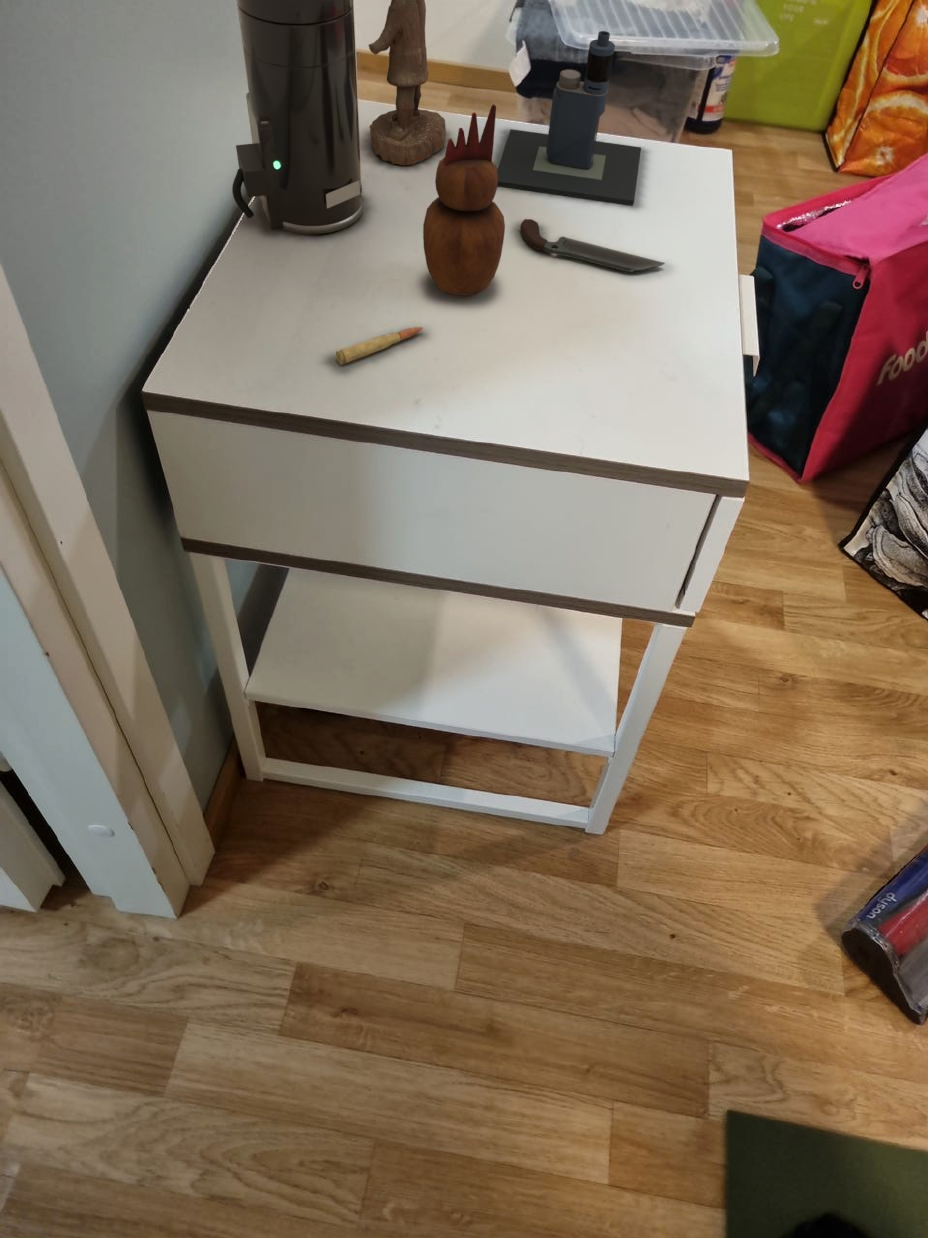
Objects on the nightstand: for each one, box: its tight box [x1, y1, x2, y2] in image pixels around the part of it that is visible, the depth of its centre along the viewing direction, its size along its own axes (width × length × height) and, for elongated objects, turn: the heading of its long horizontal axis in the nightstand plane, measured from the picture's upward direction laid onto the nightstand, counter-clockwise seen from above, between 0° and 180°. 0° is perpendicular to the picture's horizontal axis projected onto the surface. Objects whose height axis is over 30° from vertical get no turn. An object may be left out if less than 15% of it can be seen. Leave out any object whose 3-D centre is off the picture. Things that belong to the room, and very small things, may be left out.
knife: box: [520, 218, 665, 273], centre depth 84 cm, size 14×4×1 cm, turn 69°
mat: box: [496, 128, 642, 206], centre depth 93 cm, size 14×11×1 cm
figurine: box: [368, 0, 447, 166], centre depth 86 cm, size 9×8×20 cm
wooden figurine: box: [422, 104, 506, 296], centre depth 74 cm, size 7×6×15 cm
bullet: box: [335, 326, 424, 366], centre depth 74 cm, size 8×1×1 cm
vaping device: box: [546, 30, 616, 169], centre depth 88 cm, size 3×5×12 cm, turn 75°
